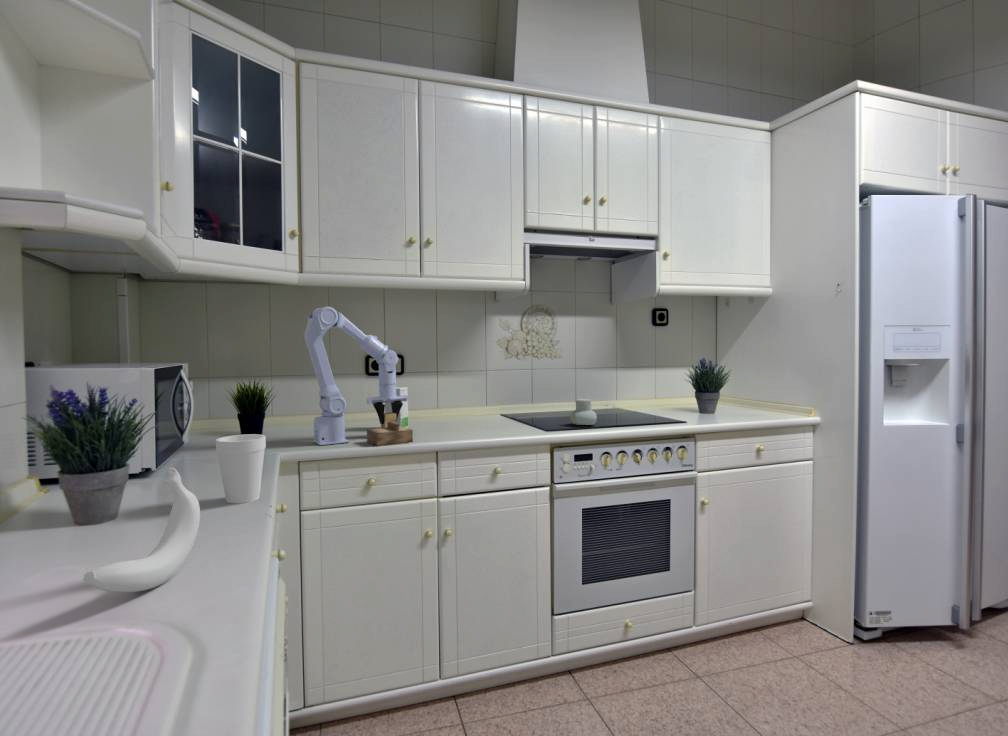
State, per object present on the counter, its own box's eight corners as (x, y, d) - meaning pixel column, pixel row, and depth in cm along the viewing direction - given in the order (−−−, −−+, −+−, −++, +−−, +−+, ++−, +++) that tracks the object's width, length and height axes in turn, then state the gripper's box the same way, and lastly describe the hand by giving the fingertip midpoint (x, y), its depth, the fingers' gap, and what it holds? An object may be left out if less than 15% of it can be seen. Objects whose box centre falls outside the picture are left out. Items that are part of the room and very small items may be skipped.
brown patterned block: (381, 429, 195) (380, 413, 195) (392, 427, 197) (391, 412, 197) (385, 430, 192) (385, 414, 191) (396, 429, 194) (396, 413, 193)
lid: (379, 435, 177) (379, 426, 177) (370, 432, 184) (370, 423, 183) (411, 431, 183) (411, 423, 183) (401, 428, 190) (401, 420, 190)
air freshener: (569, 423, 221) (569, 398, 221) (589, 423, 223) (589, 397, 222) (577, 427, 210) (577, 401, 210) (598, 427, 212) (598, 400, 211)
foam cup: (273, 499, 118) (272, 437, 117) (227, 508, 112) (224, 443, 111) (257, 490, 125) (255, 432, 124) (212, 499, 118) (210, 438, 118)
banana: (82, 617, 68) (76, 497, 67) (179, 557, 87) (175, 463, 86) (121, 618, 68) (116, 498, 67) (210, 557, 86) (206, 463, 86)
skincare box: (400, 430, 206) (400, 388, 206) (384, 430, 208) (383, 388, 207) (409, 427, 215) (408, 386, 214) (393, 427, 216) (392, 386, 215)
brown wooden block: (377, 446, 176) (377, 433, 176) (367, 442, 184) (366, 429, 184) (412, 442, 183) (412, 429, 183) (401, 438, 190) (401, 426, 190)
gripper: (371, 386, 186) (372, 426, 187) (411, 383, 194) (412, 422, 195) (364, 384, 192) (365, 424, 193) (403, 382, 200) (404, 420, 201)
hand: (388, 423), depth 194 cm, fingers closed on brown patterned block, 4 cm apart
